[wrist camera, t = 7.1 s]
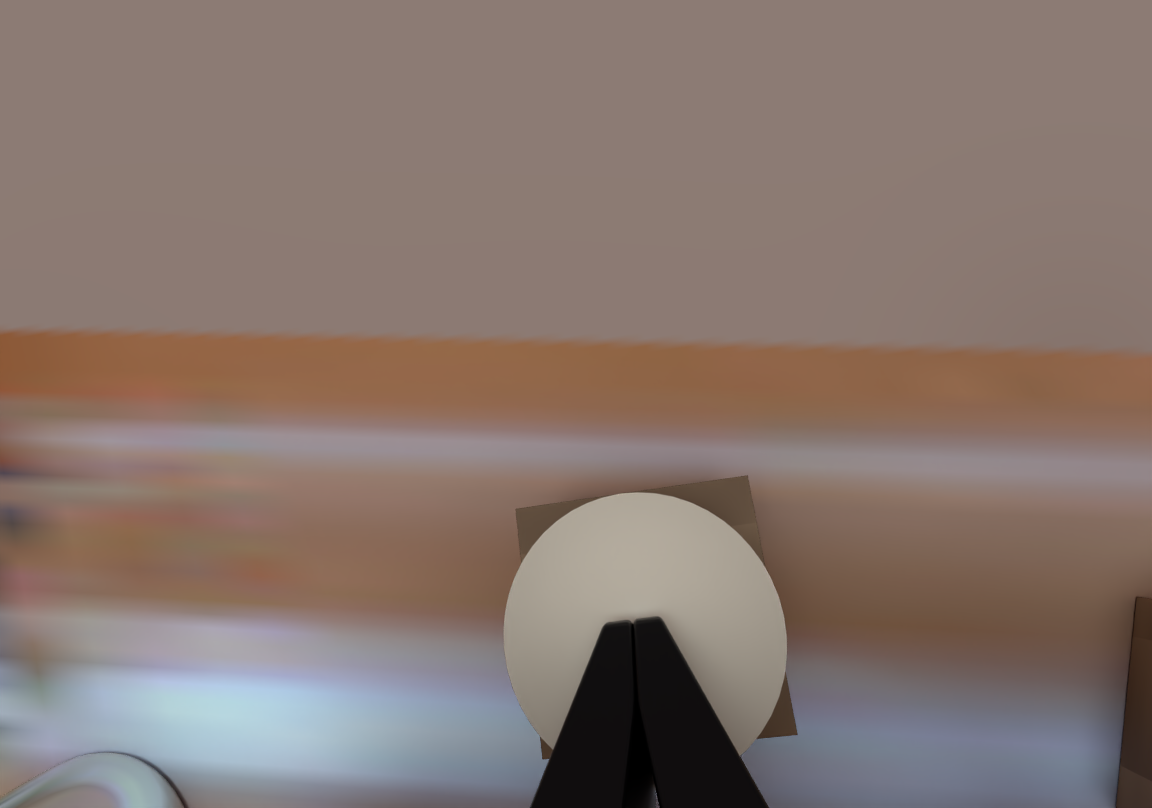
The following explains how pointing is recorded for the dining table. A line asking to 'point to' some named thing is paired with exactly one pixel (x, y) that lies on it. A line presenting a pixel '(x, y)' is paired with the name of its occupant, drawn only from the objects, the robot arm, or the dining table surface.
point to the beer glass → (95, 785)
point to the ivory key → (646, 607)
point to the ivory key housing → (715, 496)
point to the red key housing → (1138, 717)
